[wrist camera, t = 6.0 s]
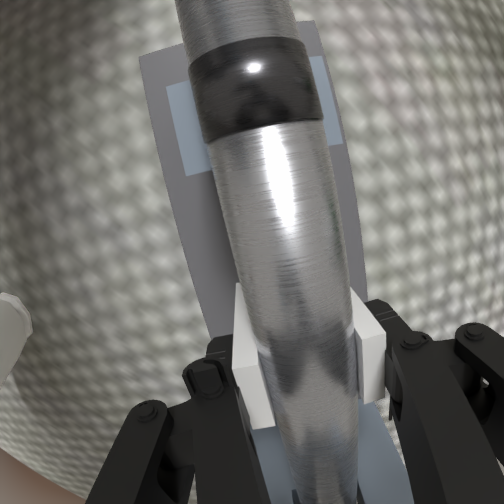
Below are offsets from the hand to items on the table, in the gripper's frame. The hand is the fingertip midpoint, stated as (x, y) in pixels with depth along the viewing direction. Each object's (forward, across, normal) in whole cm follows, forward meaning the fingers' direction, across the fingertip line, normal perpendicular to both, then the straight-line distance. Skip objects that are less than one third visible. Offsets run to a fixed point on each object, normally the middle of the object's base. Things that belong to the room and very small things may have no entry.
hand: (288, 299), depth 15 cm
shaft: (-4, 0, 0) cm, 4 cm away
